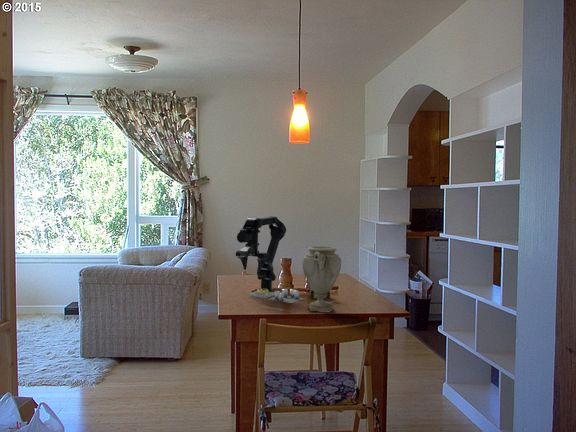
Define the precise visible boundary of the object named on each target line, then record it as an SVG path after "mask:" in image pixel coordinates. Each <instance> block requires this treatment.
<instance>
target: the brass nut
mask: <svg viewBox="0 0 576 432" xmlns="http://www.w3.org/2000/svg"><path fill="white" fill-rule="evenodd" d="M256 292H257V294H258V295H269V294H268V292H269V291H268V289H263V288H261V287H260V288H257V289H256Z"/></svg>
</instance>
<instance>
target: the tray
mask: <svg viewBox="0 0 576 432" xmlns="http://www.w3.org/2000/svg"><path fill="white" fill-rule="evenodd" d="M274 294H275V292H273V291H272V292H271V291H268V295H258V294H257V291H253V292H250V293H249V296H248V297H256V298H260V299H267V298H272V297H274Z"/></svg>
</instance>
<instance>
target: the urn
mask: <svg viewBox="0 0 576 432" xmlns="http://www.w3.org/2000/svg"><path fill="white" fill-rule="evenodd" d="M307 250H308V251H309V252H306V253H305V255H304V256H303V259H302V270H303V275H304V276H305V279H306V281H307V284H308V286H309V287H310V288H311V289H312V290H313V291H314V292H315V293H316V294H315V295H316V296H317V299H316V300H314V301H311V302H310V303H309V305H308V307H309V312H310V311H332V312H333V306H332V303H331V302H329V301H327V300H326V301H325V298H324V297H325V295H326V293H327V292H329V291H330V292H331V290H332V289H333V288H334V286H335V284H336V282H337V279H338V278H339V276H340V272H341V269H342V268H341V267H342V258H341V257H340V256H339V254H338V253H335V252H336V251H337V248H336V247H334V246H309V247H308V248H307ZM310 288H309V289H310Z"/></svg>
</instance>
